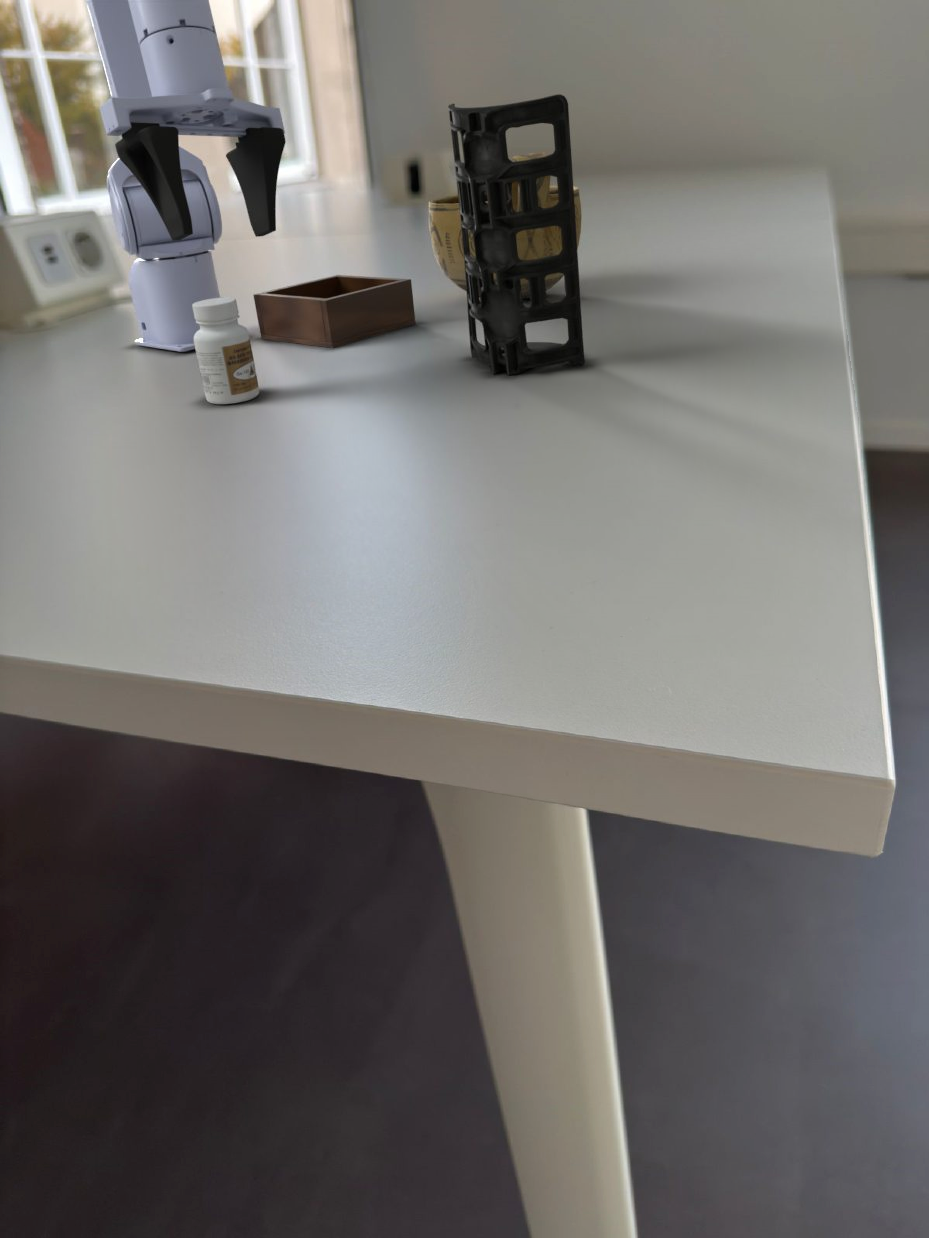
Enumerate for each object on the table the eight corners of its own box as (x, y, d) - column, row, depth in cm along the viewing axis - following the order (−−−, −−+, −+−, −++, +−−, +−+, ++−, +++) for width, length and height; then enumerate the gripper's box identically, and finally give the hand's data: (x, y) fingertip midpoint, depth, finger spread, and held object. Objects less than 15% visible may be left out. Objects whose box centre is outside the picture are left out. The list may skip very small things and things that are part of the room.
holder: (602, 350, 80) (586, 85, 69) (573, 382, 75) (551, 100, 64) (484, 350, 85) (452, 101, 74) (449, 380, 79) (408, 116, 68)
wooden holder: (260, 338, 99) (252, 294, 97) (343, 316, 106) (337, 274, 104) (332, 348, 92) (325, 300, 90) (415, 323, 99) (411, 279, 97)
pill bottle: (247, 405, 75) (228, 305, 72) (197, 406, 76) (175, 308, 73) (268, 390, 79) (250, 294, 76) (220, 391, 80) (200, 297, 76)
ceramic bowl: (613, 302, 100) (612, 145, 93) (459, 323, 97) (445, 163, 90) (550, 275, 119) (545, 143, 112) (419, 291, 117) (405, 157, 110)
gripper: (112, 9, 62) (167, 225, 65) (288, 32, 72) (329, 219, 75) (68, 50, 67) (122, 249, 70) (238, 66, 77) (278, 241, 80)
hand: (225, 235), depth 73 cm, fingers open, 7 cm apart
